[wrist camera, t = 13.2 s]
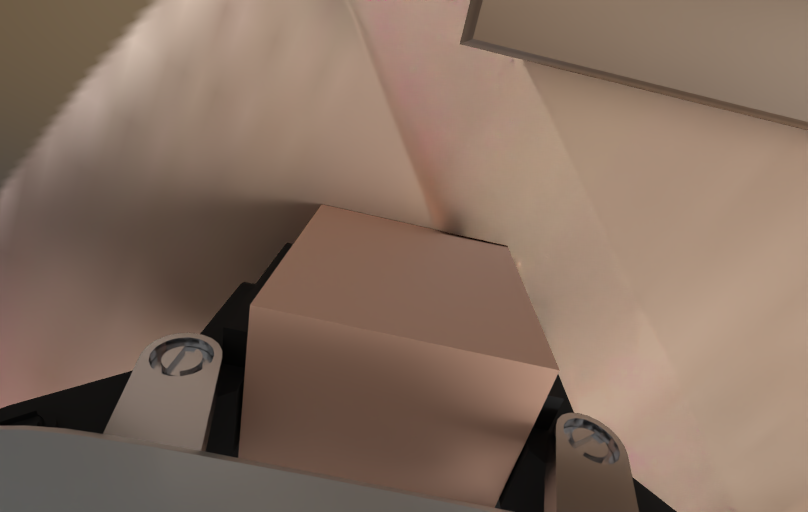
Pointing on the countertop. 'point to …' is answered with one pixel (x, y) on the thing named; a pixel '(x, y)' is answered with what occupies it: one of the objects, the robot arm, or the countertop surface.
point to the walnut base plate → (664, 47)
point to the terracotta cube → (394, 359)
